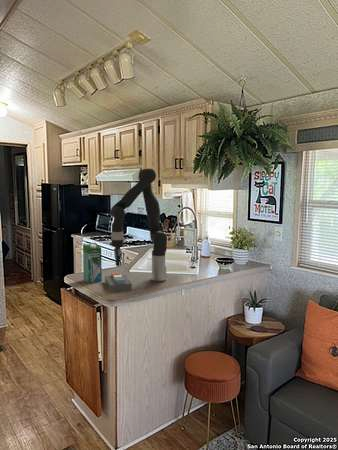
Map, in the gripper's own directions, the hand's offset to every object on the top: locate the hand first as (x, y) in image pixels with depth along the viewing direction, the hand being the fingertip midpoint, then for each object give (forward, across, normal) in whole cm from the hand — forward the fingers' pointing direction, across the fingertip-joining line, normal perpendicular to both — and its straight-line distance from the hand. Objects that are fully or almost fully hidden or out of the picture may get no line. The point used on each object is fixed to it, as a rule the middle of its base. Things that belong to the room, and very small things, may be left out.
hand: (117, 265), depth 208 cm
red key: (+10, +7, 0) cm, 12 cm away
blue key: (+10, -7, 0) cm, 12 cm away
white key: (+10, 0, 0) cm, 10 cm away
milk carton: (+14, +16, +14) cm, 25 cm away
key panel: (+13, 0, 0) cm, 13 cm away
